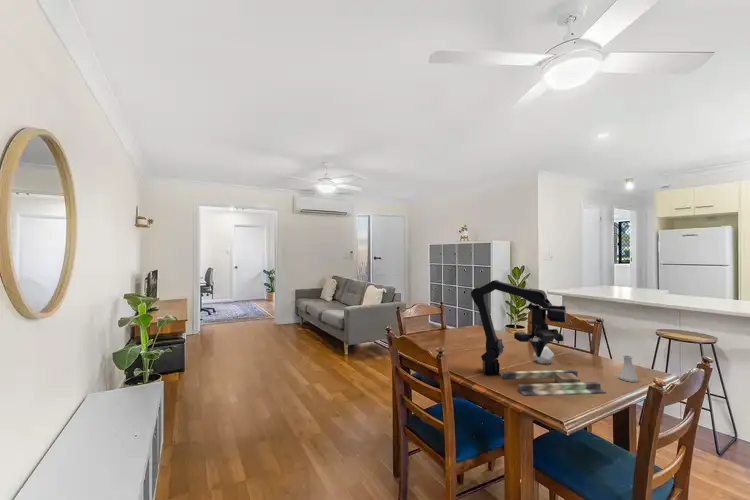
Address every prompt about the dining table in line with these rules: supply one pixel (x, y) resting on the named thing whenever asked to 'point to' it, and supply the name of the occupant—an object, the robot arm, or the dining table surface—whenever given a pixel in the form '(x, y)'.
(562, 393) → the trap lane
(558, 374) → the walnut block
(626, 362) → the flask
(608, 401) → the dining table surface
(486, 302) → the robot arm
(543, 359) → the die
